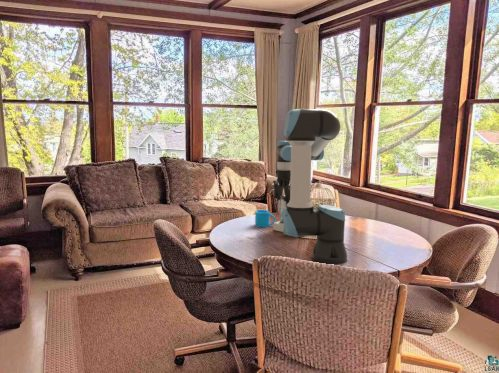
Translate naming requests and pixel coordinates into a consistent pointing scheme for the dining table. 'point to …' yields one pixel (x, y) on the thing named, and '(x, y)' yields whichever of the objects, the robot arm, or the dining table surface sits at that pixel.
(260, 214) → the mug
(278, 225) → the mount
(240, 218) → the dining table surface
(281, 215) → the pin
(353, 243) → the dining table surface
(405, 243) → the dining table surface
